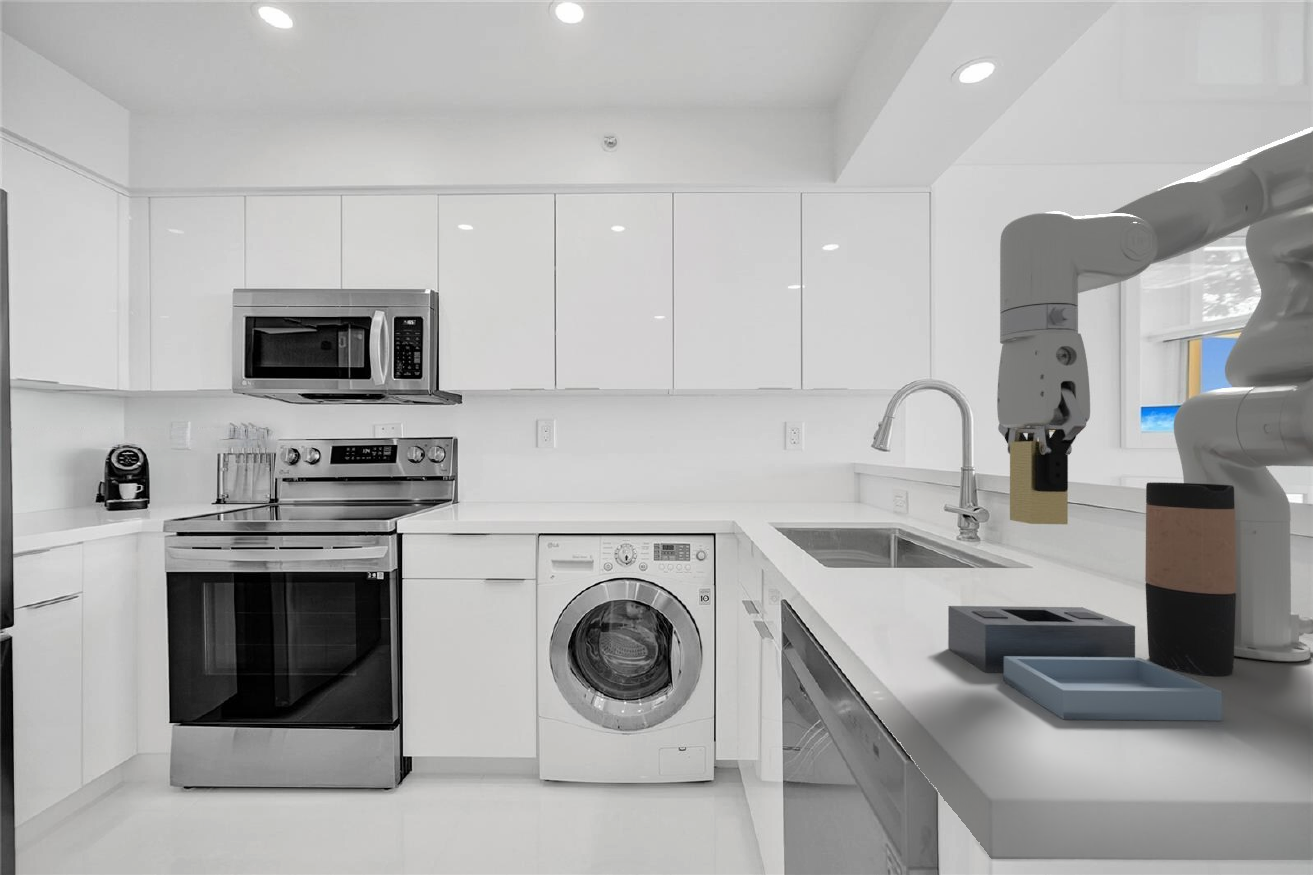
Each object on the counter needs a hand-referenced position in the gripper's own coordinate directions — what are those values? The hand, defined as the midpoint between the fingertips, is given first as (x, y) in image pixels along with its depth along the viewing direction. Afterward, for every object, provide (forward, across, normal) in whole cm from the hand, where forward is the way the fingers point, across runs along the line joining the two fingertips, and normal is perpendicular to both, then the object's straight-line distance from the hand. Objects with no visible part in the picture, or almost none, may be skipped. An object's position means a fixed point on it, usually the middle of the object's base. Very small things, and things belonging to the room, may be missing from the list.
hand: (1037, 488), depth 70 cm
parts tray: (+19, -11, 0) cm, 22 cm away
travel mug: (+19, -1, -16) cm, 26 cm away
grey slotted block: (+19, 0, 0) cm, 19 cm away
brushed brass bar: (+4, 0, 0) cm, 4 cm away
